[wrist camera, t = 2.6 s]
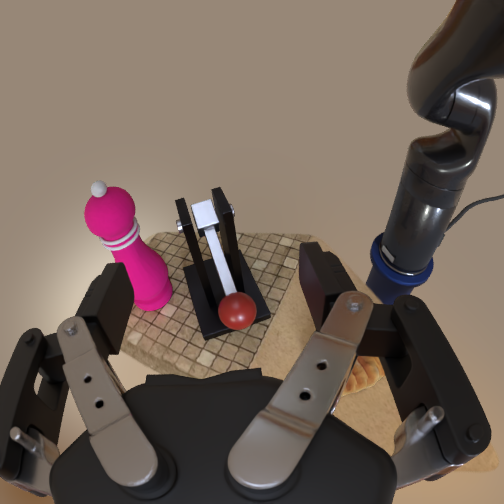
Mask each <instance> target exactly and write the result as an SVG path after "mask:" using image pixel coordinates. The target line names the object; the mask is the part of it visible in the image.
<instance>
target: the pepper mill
mask: <svg viewBox="0 0 504 504" xmlns="http://www.w3.org/2000/svg"><path fill="white" fill-rule="evenodd" d="M91 192H92V194H93V196H92V197H91V198H90V199H89V201H88V202H87V204H86V207H85V213H84V215H85V221H86V224H87V226H88V228H89V229H90V231H91V232H92V233H93V234H95V235H97V236H99V238H100V241H101V242H102V243H103V246H104V247H105V248H106V249H108V250H111V252H112V254H113V256H114V258H115V262H116V263H117V262H123V263H124V265H125V267H126V270H127V273H128V275H129V278H130V281H131V284H132V286H133V289H134V296H135V298H134V302H135V304H136V305H137V306H138V307H139V308H140V309H142V310H145V311H153V310H157V309H159V308H161V307H163V306H164V305H165V304H166V303H167V302H168V301H169V300H170V298H171V295H172V284H171V282H170V280H169V278H168V269H167V266H166V264H165V262H164V260H163V259H162V258H161V256H160V255H159V254H158V253H157V252H155V251H154V250H152V249H151V248H149V247H148V246H147V245H146V244H145V243H144V242H143V241H142V239H141V238H140V236H139V232H140V226H139V224H138V223H137V220H136V218H135V217H134V215H135V204H134V201H133V199H132V198H131V196H130V194H129V193H128V192H126V190H124V189H121V188H119V187H107V186H106V184H105V183H104V182H103V181H96V182H94V183H93V185H92V187H91Z"/></svg>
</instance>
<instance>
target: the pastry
mask: <svg viewBox="0 0 504 504" xmlns="http://www.w3.org/2000/svg"><path fill="white" fill-rule="evenodd" d="M384 375H385V373H384V370H383V367H382V365H381V362H380V360H379V357H369V356H358V358H357V361H356V363H355V366H354V368H353V370H352V373H351V375H350V377H349V379H348V382H347V384H346V386H345V388H344V391H343V393H342V395H341V396H344V395H347V394H350V393H356V392H358V391H361V390H362V389H365V388H369V387H372V386H373V385H374V384H375V383H376V382H377V381H378V380H379V379H381V378H382V377H383V376H384Z"/></svg>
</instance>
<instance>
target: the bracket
mask: <svg viewBox="0 0 504 504" xmlns="http://www.w3.org/2000/svg"><path fill="white" fill-rule="evenodd" d="M212 195H213V200H214V206H215V211H216V215H217V217H218V220H219V230H220V235H221V240H222V245H223V250H224V256H225V259H226V262H227V265H228V268H229V271H230V273H231V276H232V279H233V282H234V285H235V287H236V290H237V292H242V293H245V294H247V295H248V296H250V297H251V298H252V299H253V301H254V302H255V305H256V309H257V312H256V317H255V319H254V321H253V323H252V324H255V323H258V322H261V321H263V320H266V319H269V318H271V313H270V311H269V309H268V307H267V305H266V303H265V301H264V299H263V297H262V294H261V292H260V290H259V288H258V286H257V284H256V282H255V280H254V278H253V276H252V274H251V271H250V269H249V267H248V265H247V263H246V261H245V259H244V257H243V255H242V252H241V250H240V249H239V250H238V244H237V237H236V231H235V225H234V216H235V213H234V209H233V206H232V204H229V203H228V201H227V199H226V197H225V195H224V193H223V191H222V189H221V188H220V187H218V188H214V189H212ZM175 202H176V206H177V210H178V214H179V217H180V219H179V220H176V224H177V227H178V230H179V233H183V232H184V234H185V237H186V240H187V243H188V246H189V249H190V252H191V255H192V258H193V261H194V264H193V265H190V266H187V267H183V269H184V273H185V277H186V280H187V284H188V288H189V291H190V295H191V298H192V302H193V305H194V309H195V312H196V315H197V319H198V322H199V325H200V329H201V332H202V335H203V338H204V340H209V339H212V338H215V337H218V336H221V335H224V334H227V333H229V332H232V331H235V330H234V329H231V328H228V327H227V326H225V325H224V324H223V323H222V321H221V320H220V317H219V313H218V308H219V304H220V302H221V300H222V299H223V298H224V297H225V293H224V290H223V287H222V284H221V281H220V278H219V275H218V273H217V270H216V267H215V264H214V261H213V258H211V259H208V260H205V261H203V259H202V255H201V252H200V249H199V245H198V242H197V238H196V235H195V232H194V228H193V225H192V222H191V218H190V215H189V212H188V209H187V206H186V202H185V199H184V198H181V199H178V200H175ZM252 324H251V325H252Z"/></svg>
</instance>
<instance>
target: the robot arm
mask: <svg viewBox="0 0 504 504" xmlns="http://www.w3.org/2000/svg"><path fill="white" fill-rule="evenodd" d="M499 78H504V0H456V2H455V4H454V6H453V7H452V9H451V11H450V12H449V14H448V15H447V17H446V19H445V20H444V21H443V23H442V24H441V25H440V26H439V28H438V29H437V30H436V31H435V33H434V34H433V35H432V36H431V37H430V38H429V40H428V41H427V42H426V43H425V44H424V46H423V47H422V48H421V50H420V51H419V53H418V54H417V55H416V57H415V59H414V61H413V63H412V65H411V68H410V71H409V75H408V80H407V96H408V100H409V103H410V106H411V107H412V109H413V111H414V112H415V113H416V114H417V115H418V116H420V117H421V118H423V119H425V120H427V121H429V122H432V123H436V124H439V125H442V126H445V127H448V128H449V129H448V130H446V131H444V132H442V133H440V134H436V135H432V136H423V137H419V138H416V139H414V140H413V141H412V142H411V143H410V145H409V148H408V152H407V156H406V160H405V164H404V168H403V172H402V176H401V180H400V183H399V187H398V191H397V194H396V197H395V201H394V204H393V208H392V210H391V214H390V217H389V220H388V223H387V226H386V229H385V232H384V235H383V238H382V240H381V242H380V245H379V255H380V257H381V259H382V261H383V263H384V264H385V265H386V266H387V267H388V268H389V269H390V270H392V271H393V272H395V273H397V274H399V275H402V276H408V277H413V276H417V275H420V274H422V273H423V272H424V271H425V269H426V268H427V266H428V263H429V261H430V259H431V257H432V256H433V254H434V252H435V250H436V248H437V247H438V246H439V245H440V244H441V242H442V240H443V237H444V236H445V235H444V233H445V232H446V231H448V230H449V229H450V228H451V227H452V226H453V225H454V224H455V223H456V222H457V221H458V220H459V219H460V218H461V217H462V216H463V215H464V214H465V213H466V212H467V211H468V210H469V209H470V208H472V207H474V206H476V205H478V204H481V203H484V202H488V201H494V200H498V199H502V198H504V195H500V196H497V197H491V198H486V199H482V200H479V201H476V202H473V203H472V204H470V205H468V206H466V207H465V208H464V209H463V210H462V211H461V212H460V213H459V214H458V215H457V216H456V217H455V218H454V219H453V220H452V221H451V222H450V220H451V217H452V215H453V213H454V211H455V209H456V206H457V204H458V202H459V199H460V197H461V194H462V192H463V190H464V187H465V184H466V182H467V180H468V178H469V177H470V176H471V175H472V173H473V172H474V170H475V169H476V167H477V164H478V161H479V159H480V156H481V154H482V151H483V149H484V146H485V144H486V141H487V138H488V136H489V133H490V130H491V128H492V125H493V121H494V118H495V113H496V108H497V89H496V85H495V82H494V79H499ZM449 222H450V223H449ZM299 280H300V285H301V288H302V290H303V293H304V296H305V299H306V302H307V304H308V307H309V310H310V313H311V316H312V318H313V321H314V324H315V327H316V331H315V332H314V333H313V334H312V336H311V338H310V339H309V341H308V343H307V344H306V346H305V348H304V349H303V351H302V353H301V354H300V356H299V357H298V359H297V361H296V362H295V364H294V365H293V367H292V369H291V370H290V372H289V373H288V375H287V376H286V378H285V380H284V381H283V380H280V379H277V378H273V377H268V376H262V371H261V368H254V369H245V370H235V371H229V372H226V373H223V374H219V375H216V376H212V377H209V378H205V379H196V378H190V377H185V376H179V375H174V374H164V375H147V376H146V382H145V383H144V384H141V385H138V386H135V387H133V388H131V389H130V390H128V391H126V390H125V388H124V387H123V385H122V383H121V382H120V380H119V378H118V376H117V375H116V373H115V371H114V369H113V368H112V366H111V364H110V362H109V361H108V356H109V355H118V354H119V351H120V347H121V344H122V340H123V337H124V333H125V330H126V326H127V323H128V319H129V316H130V313H131V310H132V306H133V303H134V298H135V296H134V289H133V286H132V284H131V281H130V278H129V275H128V273H127V270H126V267H125V265H124V263H123V262H117V263H108V264H107V265H106V266H105V268H104V270H103V272H102V274H101V275H99V276H98V277H96V278H95V280H93V281H92V283H91V285H90V287H89V289H88V291H87V292H86V294H85V297H84V298H83V300H82V302H81V304H80V306H79V308H78V311H77V313H76V315H75V316H74V317H70V318H68V319H66V320H65V321H63V322H62V323H61V324H60V325H59V327H58V329H57V333H53V334H50V335H47V336H44V335H43V333H42V332H41V330H40V329H38V328H32V329H29V330H28V331H26V332H25V333H24V334H23V335H22V336H21V337H20V339H19V341H18V343H17V346H16V348H15V350H14V352H13V354H12V357H11V359H10V362H9V364H8V366H7V369H6V371H5V374H4V377H3V379H2V382H1V385H0V477H1V478H2V479H4V480H5V481H7V482H9V483H11V484H12V485H14V486H16V487H18V488H20V489H22V490H24V491H28V492H30V493H32V494H35V495H37V496H39V497H45V496H47V495H49V496H52V497H53V500H54V503H55V504H392V501H393V497H394V494H395V491H396V490H398V489H401V488H403V487H406V486H409V485H412V484H414V483H417V482H419V481H421V480H426V481H434V480H437V479H439V478H441V477H443V476H445V475H446V474H448V473H450V472H452V471H454V470H455V469H457V468H459V467H460V466H462V465H463V464H465V463H467V462H468V461H470V460H471V459H473V458H474V457H476V456H477V455H479V454H480V453H482V452H483V451H484V450H485V449H486V448H487V446H488V445H489V443H490V440H491V428H490V425H489V423H488V420H487V418H486V415H485V413H484V411H483V408H482V406H481V404H480V402H479V400H478V398H477V395H476V394H475V391H474V389H473V387H472V386H471V383H470V381H469V379H468V377H467V375H466V373H465V371H464V370H463V367H462V366H461V364H460V362H459V360H458V358H457V356H456V355H455V353H454V351H453V349H452V347H451V346H450V344H449V342H448V340H447V339H446V337H445V335H444V334H443V332H442V330H441V328H440V327H439V325H438V324H437V322H436V320H435V319H434V317H433V316H432V314H431V312H430V311H429V309H428V308H427V306H426V305H425V303H424V302H423V301H422V300H421V299H419V298H418V297H415V296H412V295H401V296H399V297H397V298H396V299H395V301H394V305H385V304H375V303H373V301H372V299H371V298H370V297H369V296H368V295H366V294H364V293H362V292H359V291H357V289H356V287H355V286H354V284H353V282H352V280H351V279H350V277H349V275H348V274H347V272H346V270H345V268H344V267H343V266H342V263H341V262H340V260H339V258H338V257H337V256H335V255H334V254H333V253H331V252H330V251H327V252H323V251H322V249H321V247H320V245H319V244H318V242H307V243H301V244H300V251H299ZM358 356H369V357H379V360H380V362H381V365H382V367H383V370H384V373H385V375H386V378H387V381H388V383H389V386H390V389H391V392H392V394H393V397H394V400H395V403H396V406H397V409H398V412H399V415H400V418H401V421H402V424H401V425H400V426H399V427H398V428H397V430H396V432H395V435H394V444H395V448H394V453H393V455H392V456H391V457H390V455H389V454H388V453H387V452H386V451H385V450H384V449H382V448H381V447H379V446H378V445H376V444H375V443H373V442H372V441H370V440H369V439H367V438H366V437H364V436H363V435H361V434H360V433H358V432H357V431H355V430H354V429H352V428H351V427H349V426H348V425H347V424H345V423H344V422H342V421H341V420H339V419H338V418H337V417H335V416H334V415H333V413H334V411H335V409H336V407H337V404H338V402H339V400H340V398H341V395H342V393H343V391H344V388H345V386H346V384H347V382H348V379H349V377H350V375H351V373H352V370H353V368H354V366H355V363H356V361H357V358H358ZM38 372H39V374H40V375H41V376H42V377H43V378H42V381H41V384H40V387H39V391H38V394H37V395H36V393H35V391H34V383H35V379H36V376H37V374H38ZM69 387H70V389H71V393H72V395H73V398H74V400H75V403H76V405H77V407H78V410H79V412H80V414H81V417H82V419H83V421H84V423H85V425H86V428H87V430H86V431H85V432H84V433H82V435H80V437H78V439H76V440H75V441H74V442H73V443H72V444H71V445H70V446H69V447H68V448H67V449H66V450H65V451H64V452H63V453H62V454H61V455H60V452H59V449H58V447H57V444H58V438H59V433H60V427H61V422H62V417H63V412H64V408H65V403H66V399H67V395H68V391H69Z"/></svg>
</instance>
